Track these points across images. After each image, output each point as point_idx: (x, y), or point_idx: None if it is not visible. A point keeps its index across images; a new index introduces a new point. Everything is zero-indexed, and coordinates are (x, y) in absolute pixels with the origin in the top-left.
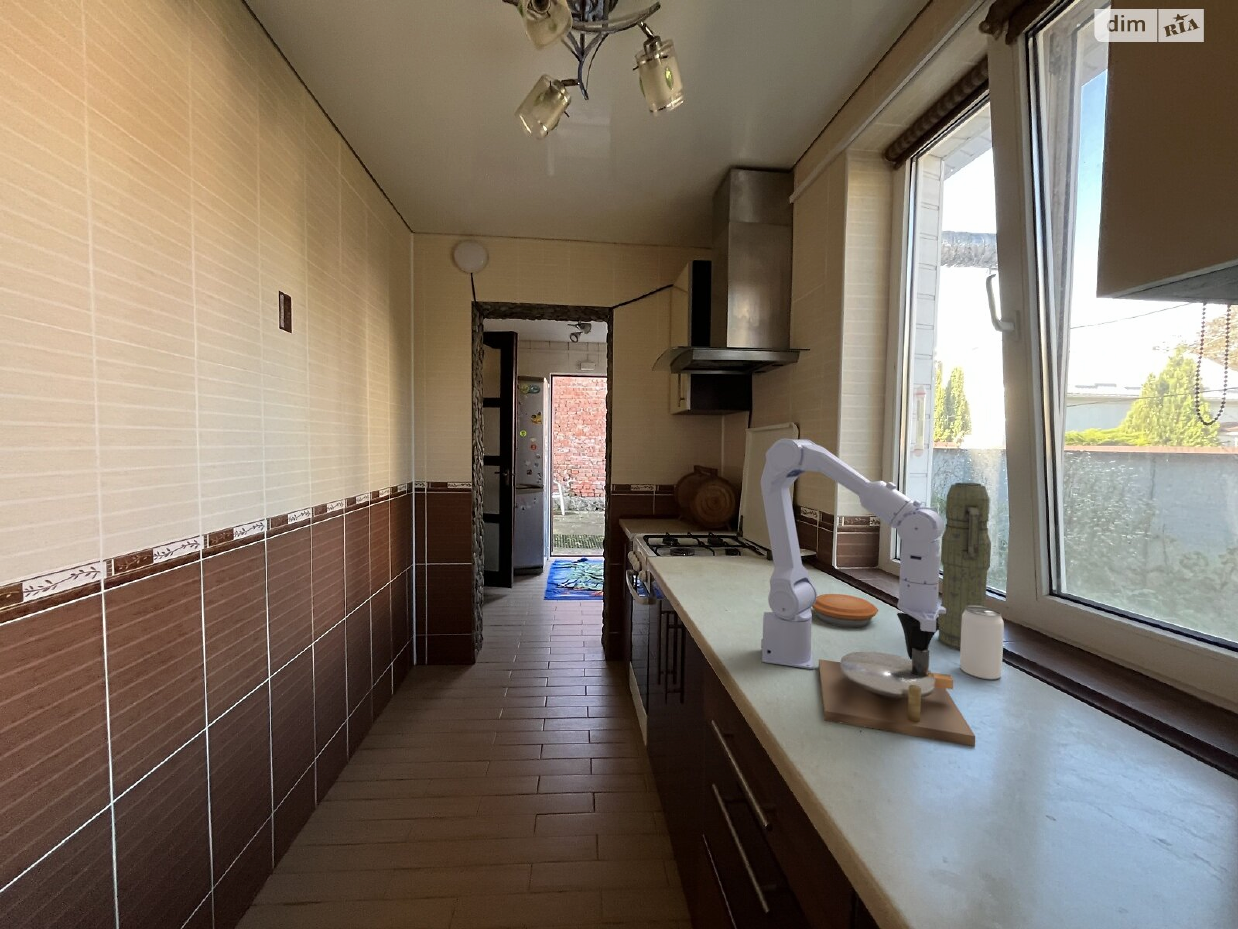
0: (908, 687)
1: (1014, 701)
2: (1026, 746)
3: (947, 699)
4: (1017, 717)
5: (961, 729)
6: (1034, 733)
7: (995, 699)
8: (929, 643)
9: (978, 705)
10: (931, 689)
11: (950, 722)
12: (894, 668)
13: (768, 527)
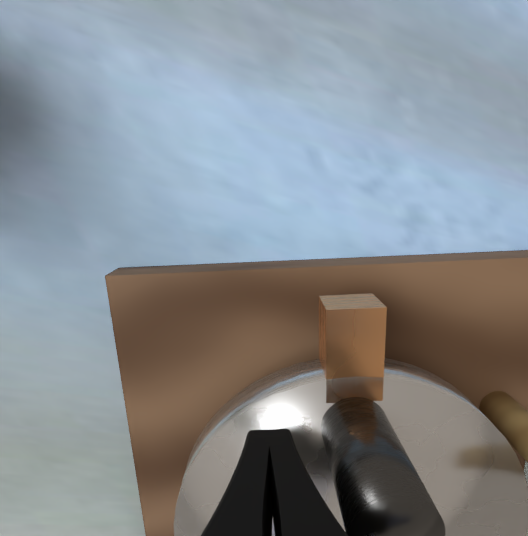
0: (514, 484)
1: (145, 9)
2: (494, 92)
3: (315, 283)
4: (289, 48)
5: (524, 286)
6: (397, 28)
7: (160, 84)
8: (326, 508)
9: (243, 165)
10: (452, 390)
11: (487, 309)
12: (337, 509)
13: None
